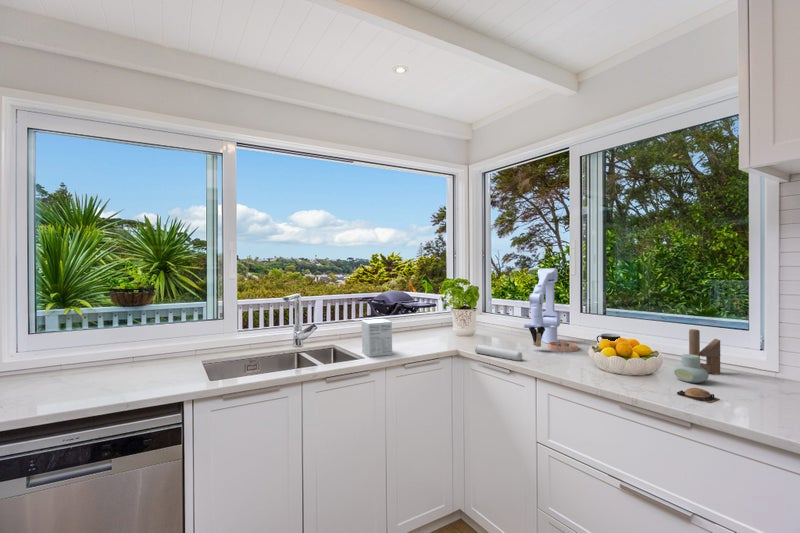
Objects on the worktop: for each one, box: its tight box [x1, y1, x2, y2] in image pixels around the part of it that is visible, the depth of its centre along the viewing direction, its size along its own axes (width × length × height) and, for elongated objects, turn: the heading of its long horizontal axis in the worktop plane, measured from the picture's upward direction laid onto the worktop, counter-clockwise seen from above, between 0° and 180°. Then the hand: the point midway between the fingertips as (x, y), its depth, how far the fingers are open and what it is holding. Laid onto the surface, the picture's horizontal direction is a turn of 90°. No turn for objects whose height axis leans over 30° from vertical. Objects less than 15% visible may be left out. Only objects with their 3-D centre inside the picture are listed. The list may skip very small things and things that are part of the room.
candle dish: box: [547, 340, 579, 353], centre depth 214 cm, size 15×15×3 cm
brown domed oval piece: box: [676, 387, 721, 404], centre depth 136 cm, size 11×8×4 cm
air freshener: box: [673, 353, 709, 384], centre depth 154 cm, size 11×8×10 cm
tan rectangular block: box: [532, 331, 542, 348], centre depth 209 cm, size 5×2×7 cm, turn 3°
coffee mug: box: [596, 333, 621, 344], centre depth 200 cm, size 12×9×10 cm
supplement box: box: [361, 318, 393, 358], centre depth 210 cm, size 13×13×18 cm
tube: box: [474, 343, 523, 362], centre depth 198 cm, size 5×5×25 cm
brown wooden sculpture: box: [688, 328, 721, 375], centre depth 165 cm, size 4×11×18 cm, turn 80°
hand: (537, 341), depth 209 cm, fingers closed on tan rectangular block, 2 cm apart
